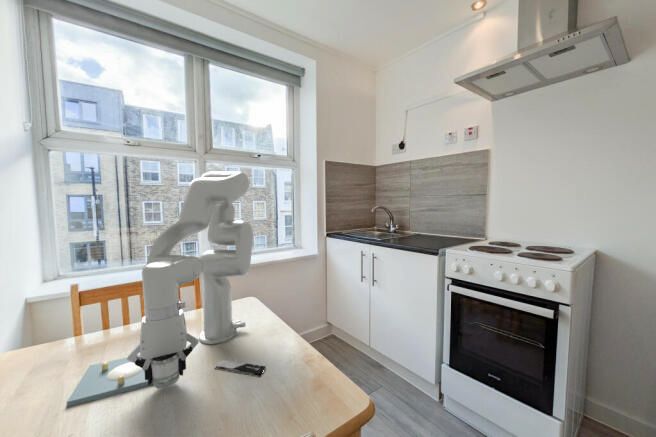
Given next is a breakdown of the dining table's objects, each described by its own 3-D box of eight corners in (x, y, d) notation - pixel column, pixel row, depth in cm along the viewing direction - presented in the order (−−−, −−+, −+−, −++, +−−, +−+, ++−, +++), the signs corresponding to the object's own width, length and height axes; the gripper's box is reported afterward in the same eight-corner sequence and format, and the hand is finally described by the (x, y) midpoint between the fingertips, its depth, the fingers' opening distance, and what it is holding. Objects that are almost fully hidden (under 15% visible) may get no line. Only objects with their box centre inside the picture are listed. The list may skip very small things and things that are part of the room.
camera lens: (165, 392, 65) (163, 361, 64) (146, 386, 67) (144, 357, 66) (186, 375, 71) (184, 347, 70) (168, 370, 73) (166, 343, 72)
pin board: (170, 351, 86) (169, 342, 85) (165, 380, 71) (165, 369, 71) (90, 369, 76) (89, 358, 76) (66, 406, 62) (66, 393, 62)
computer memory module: (214, 366, 77) (223, 359, 80) (214, 370, 77) (223, 362, 81) (260, 375, 73) (267, 366, 77) (260, 378, 73) (267, 370, 77)
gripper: (199, 299, 74) (202, 359, 76) (123, 311, 66) (128, 378, 68) (200, 309, 68) (203, 374, 69) (116, 324, 60) (122, 398, 61)
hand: (166, 376), depth 69 cm, fingers closed on camera lens, 6 cm apart
